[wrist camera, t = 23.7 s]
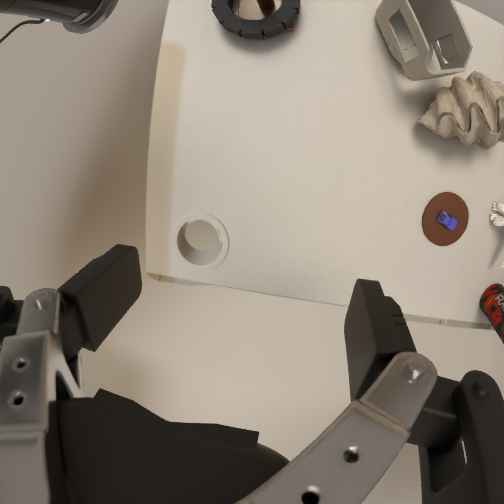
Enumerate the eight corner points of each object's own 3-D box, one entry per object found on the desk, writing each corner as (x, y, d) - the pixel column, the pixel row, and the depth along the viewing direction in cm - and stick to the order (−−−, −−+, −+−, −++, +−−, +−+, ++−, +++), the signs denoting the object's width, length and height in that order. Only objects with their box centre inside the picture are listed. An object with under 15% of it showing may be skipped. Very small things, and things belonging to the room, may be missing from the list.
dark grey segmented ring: (213, 38, 30) (207, 34, 28) (221, -25, 26) (216, -32, 23) (297, 41, 29) (296, 36, 27) (301, -24, 24) (301, -32, 22)
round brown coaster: (449, 253, 38) (452, 257, 37) (412, 228, 38) (415, 232, 36) (475, 210, 34) (480, 213, 33) (440, 181, 34) (444, 184, 33)
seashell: (493, 157, 31) (533, 171, 22) (409, 132, 32) (440, 138, 24) (499, 92, 26) (539, 93, 17) (413, 60, 28) (445, 46, 19)
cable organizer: (398, 84, 30) (435, 73, 19) (363, 2, 26) (384, -36, 15) (440, 78, 28) (486, 68, 17) (406, -2, 24) (437, -35, 13)
